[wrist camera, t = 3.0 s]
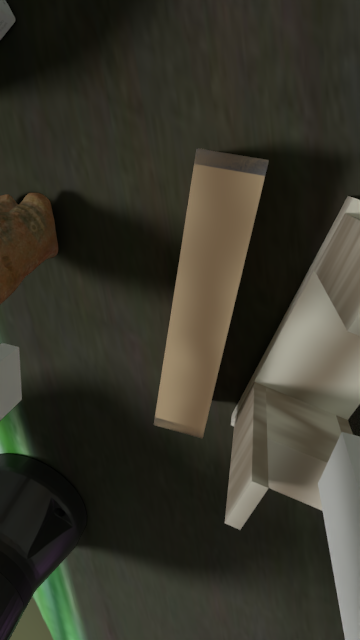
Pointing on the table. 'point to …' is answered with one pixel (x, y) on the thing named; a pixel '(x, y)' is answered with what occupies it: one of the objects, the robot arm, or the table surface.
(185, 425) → the rail
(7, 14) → the ink box
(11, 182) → the table surface
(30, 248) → the figurine
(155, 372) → the table surface
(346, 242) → the wooden beam cradle
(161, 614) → the table surface
